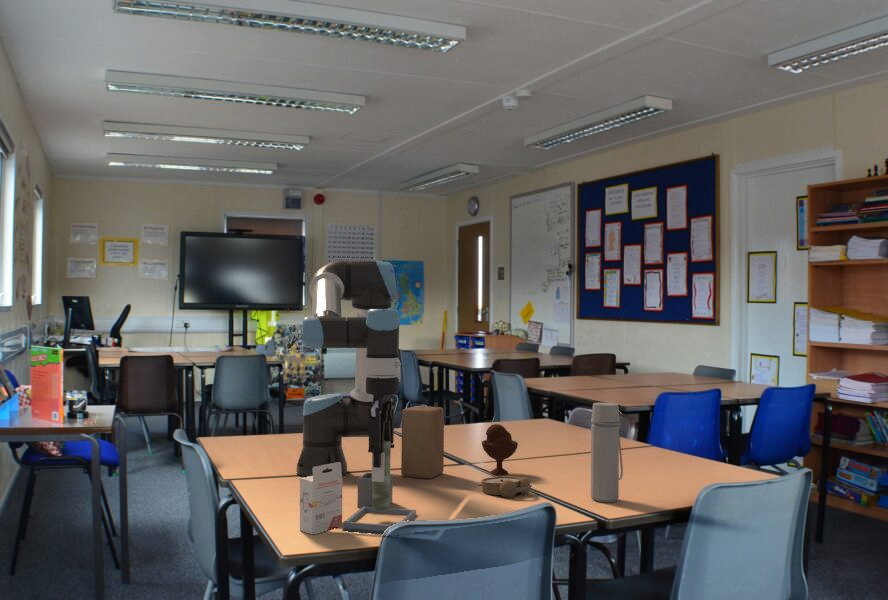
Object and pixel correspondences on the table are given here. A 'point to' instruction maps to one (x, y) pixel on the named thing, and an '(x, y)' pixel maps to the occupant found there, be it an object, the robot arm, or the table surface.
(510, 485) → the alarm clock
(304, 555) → the table surface
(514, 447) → the ice cream bowl
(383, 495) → the dowel
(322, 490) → the ink cartridge box
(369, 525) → the tray
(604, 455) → the water bottle
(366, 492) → the pot
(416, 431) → the wooden block
